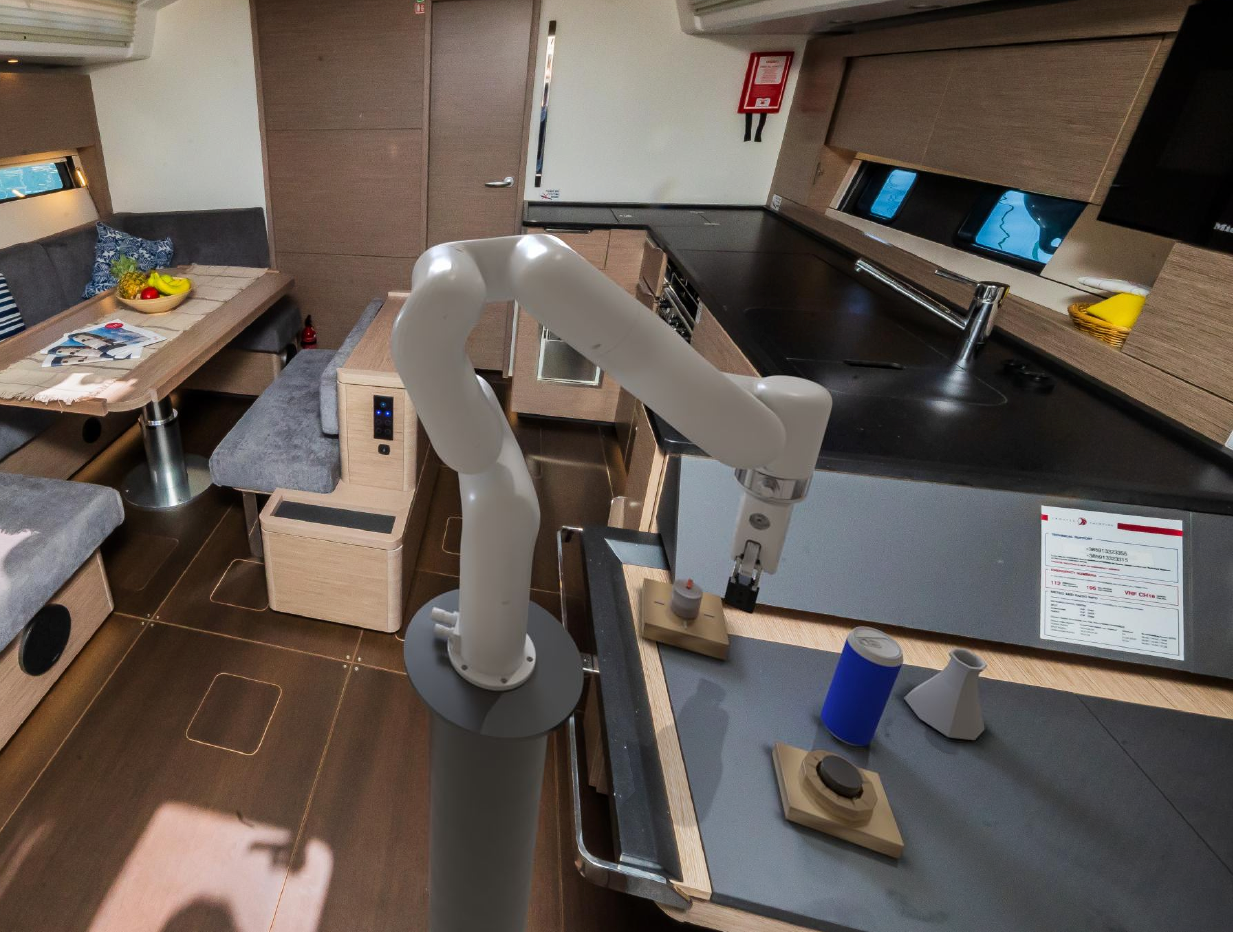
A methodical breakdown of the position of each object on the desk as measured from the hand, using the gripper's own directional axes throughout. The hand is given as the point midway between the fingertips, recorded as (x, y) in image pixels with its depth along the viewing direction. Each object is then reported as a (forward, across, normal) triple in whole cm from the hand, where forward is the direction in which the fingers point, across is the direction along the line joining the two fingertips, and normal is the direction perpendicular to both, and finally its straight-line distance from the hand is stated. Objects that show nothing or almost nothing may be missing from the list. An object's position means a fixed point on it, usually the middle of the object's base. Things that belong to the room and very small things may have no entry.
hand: (744, 584), depth 78 cm
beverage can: (+16, 0, -14) cm, 21 cm away
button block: (+16, -12, -13) cm, 24 cm away
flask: (+16, +10, -23) cm, 30 cm away
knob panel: (+16, +6, +7) cm, 18 cm away
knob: (+13, +6, +7) cm, 16 cm away
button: (+12, -12, -13) cm, 21 cm away
